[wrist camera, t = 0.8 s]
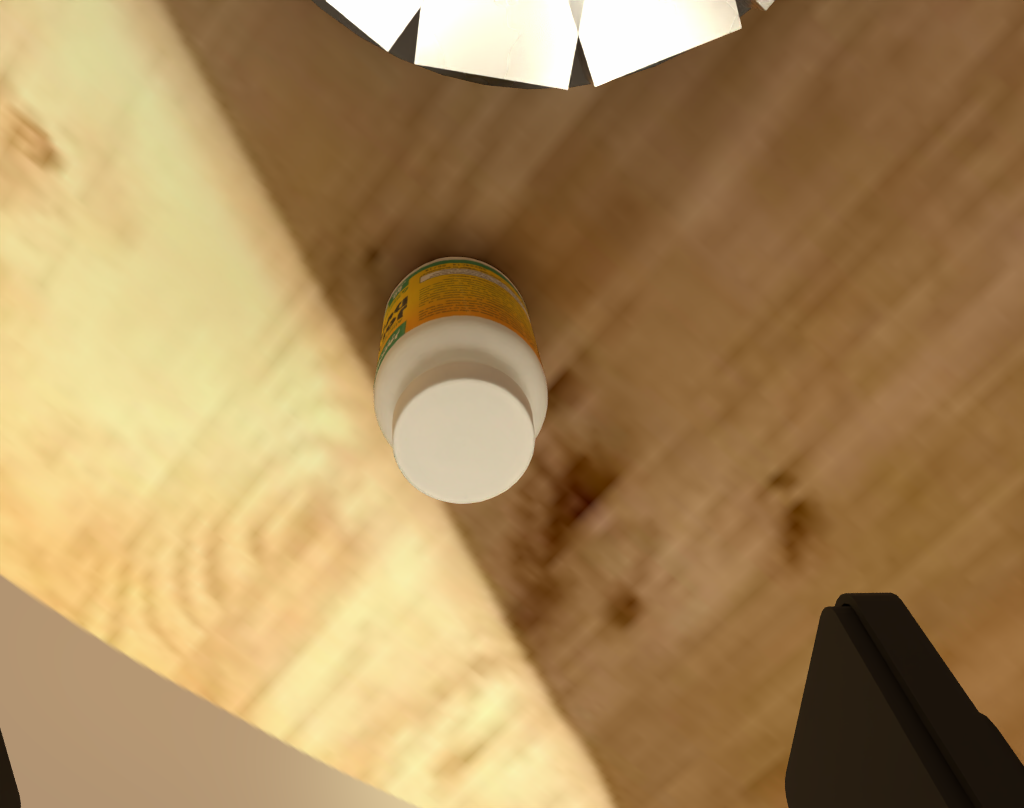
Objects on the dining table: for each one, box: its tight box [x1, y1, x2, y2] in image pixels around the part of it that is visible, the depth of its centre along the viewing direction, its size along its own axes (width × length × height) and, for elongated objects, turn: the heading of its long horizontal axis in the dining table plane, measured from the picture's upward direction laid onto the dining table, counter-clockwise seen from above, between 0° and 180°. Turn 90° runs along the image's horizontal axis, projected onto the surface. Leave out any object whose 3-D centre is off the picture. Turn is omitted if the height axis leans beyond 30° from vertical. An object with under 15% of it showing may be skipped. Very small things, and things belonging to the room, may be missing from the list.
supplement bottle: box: [374, 257, 548, 504], centre depth 30 cm, size 5×5×10 cm
